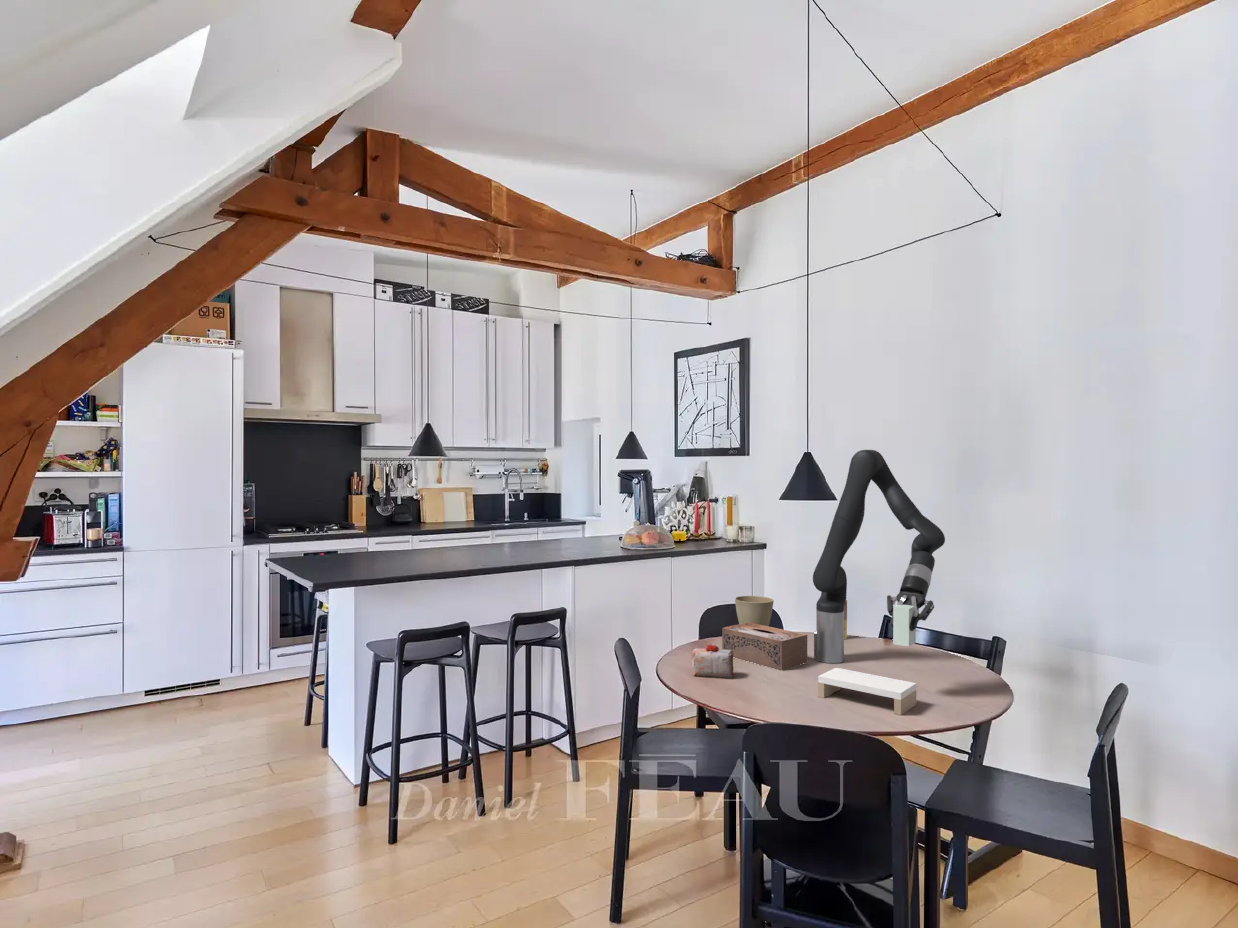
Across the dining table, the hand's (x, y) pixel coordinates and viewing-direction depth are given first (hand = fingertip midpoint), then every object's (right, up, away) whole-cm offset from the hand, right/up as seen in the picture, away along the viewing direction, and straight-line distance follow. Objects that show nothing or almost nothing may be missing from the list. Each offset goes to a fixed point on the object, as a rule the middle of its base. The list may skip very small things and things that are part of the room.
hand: (902, 627), depth 213 cm
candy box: (+1, -20, +69) cm, 72 cm away
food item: (-53, -20, +21) cm, 61 cm away
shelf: (-12, -20, -5) cm, 24 cm away
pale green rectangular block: (+1, -5, +1) cm, 5 cm away
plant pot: (-31, -20, +68) cm, 77 cm away
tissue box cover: (-33, -20, +40) cm, 56 cm away
